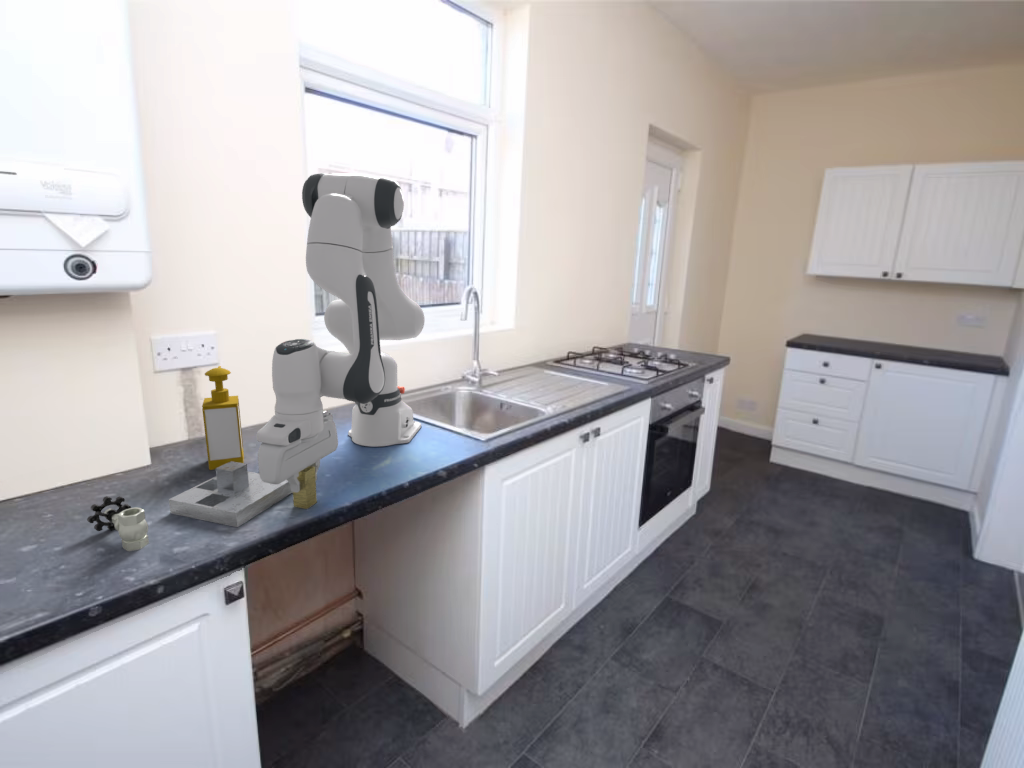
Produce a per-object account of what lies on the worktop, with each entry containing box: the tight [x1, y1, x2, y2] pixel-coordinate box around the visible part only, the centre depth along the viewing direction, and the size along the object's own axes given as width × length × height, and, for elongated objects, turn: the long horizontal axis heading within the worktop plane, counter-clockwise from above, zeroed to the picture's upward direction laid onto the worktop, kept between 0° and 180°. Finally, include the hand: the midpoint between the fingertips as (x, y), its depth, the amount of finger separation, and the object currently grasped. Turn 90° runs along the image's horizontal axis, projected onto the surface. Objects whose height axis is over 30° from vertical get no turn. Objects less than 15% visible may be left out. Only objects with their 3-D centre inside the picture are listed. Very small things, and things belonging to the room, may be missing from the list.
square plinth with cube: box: [168, 461, 293, 528], centre depth 108 cm, size 16×16×8 cm
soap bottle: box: [201, 365, 245, 471], centre depth 128 cm, size 7×13×24 cm, turn 25°
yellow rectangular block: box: [292, 466, 318, 510], centre depth 108 cm, size 3×3×8 cm
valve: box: [86, 495, 150, 552], centre depth 94 cm, size 7×7×12 cm
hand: (304, 486), depth 108 cm, fingers closed on yellow rectangular block, 3 cm apart
